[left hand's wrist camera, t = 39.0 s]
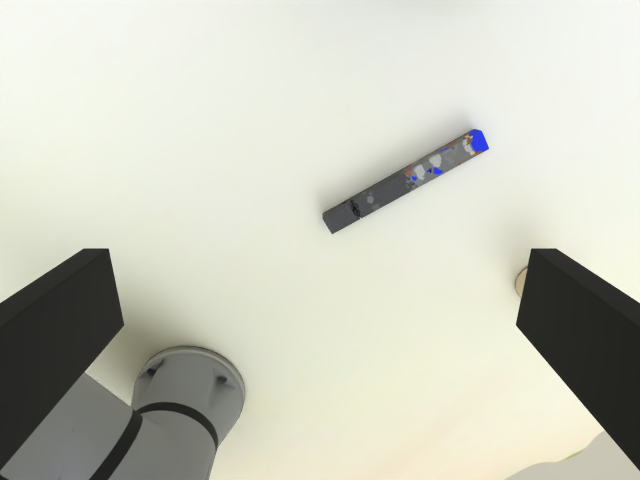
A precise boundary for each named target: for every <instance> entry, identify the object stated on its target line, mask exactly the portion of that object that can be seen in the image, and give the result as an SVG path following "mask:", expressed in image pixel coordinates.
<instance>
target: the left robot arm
mask: <svg viewBox="0 0 640 480" xmlns="http://www.w3.org/2000/svg"><path fill="white" fill-rule="evenodd" d="M123 326H124V322H123V317H122V312H121V307H120V302H119V297H118V292H117V288H116V283H115V278H114V273H113V268H112V263H111V258H110V253H109V249H83V250H81V251H79V252H78V253H76V254H75V255H73V256H72V257H70V258H69V259H67V260H66V261H64V262H63V263H61V264H60V265H58V266H57V267H55V268H53V269H52V270H50V271H49V272H47V273H46V274H44V275H43V276H41V277H40V278H38V279H37V280H35V281H34V282H32V283H30V284H29V285H27V286H26V287H24V288H23V289H21V290H20V291H18V292H17V293H15V294H14V295H12V296H11V297H9V298H7V299H6V300H4V301H3V302H1V303H0V480H209V476H210V473H211V469H212V466H213V462H214V459H215V455H216V451H217V448H218V446H219V445H220V443H221V442H222V441H223V439H224V438H225V437H226V435H227V434H228V433H229V431H230V430H231V428H232V427H233V426H234V424H235V423H236V421H237V420H238V418H239V416H240V414H241V411H242V408H243V404H244V399H245V387H244V383H243V380H242V378H241V376H240V374H239V373H238V371H237V370H236V369H235V367H234V366H233V365H232V364H231V363H230V362H229V361H227V360H226V359H225V358H223V357H222V356H220V355H218V354H216V353H214V352H212V351H209V350H206V349H203V348H199V347H190V346H181V347H174V348H170V349H167V350H164V351H162V352H160V353H158V354H156V355H155V356H153V357H152V358H151V359H150V360H149V361H148V362H147V363H146V364H145V366H144V367H143V369H142V370H141V372H140V374H139V375H138V377H137V380H136V383H135V386H134V391H133V397H132V403H131V407H130V406H129V405H127V404H126V403H125V402H123V401H122V400H121V399H119V398H118V397H117V396H115V395H114V394H113V393H111V392H110V391H109V390H107V389H106V388H105V387H103V386H102V385H101V384H99V383H98V382H97V381H95V380H94V379H93V378H91V377H90V376H89V375H87V374H86V373H85V371H86V369H87V368H88V367H89V366H90V365H91V364H92V362H93V361H94V360H95V359H96V358H97V356H98V355H99V354H100V353H101V352H102V351H103V349H104V348H105V347H106V346H107V345H108V343H109V342H110V341H111V340H112V339H113V338H114V336H115V335H116V334H117V333H118V332H119V331H120V329H121V328H122V327H123ZM516 326H517V327H518V328H519V329H520V331H521V332H522V333H523V334H524V335H525V336H526V338H527V339H528V340H529V341H530V342H531V343H532V345H533V346H534V347H535V348H536V349H537V351H538V352H539V353H540V354H541V355H542V356H543V358H544V359H545V360H546V361H547V362H548V364H549V365H550V366H551V367H552V368H553V369H554V371H555V372H556V373H557V374H558V375H559V376H560V378H561V379H562V380H563V381H564V382H565V384H566V385H567V386H568V387H569V388H570V389H571V391H572V392H573V393H574V394H575V395H576V396H577V398H578V399H579V400H580V401H581V402H582V404H583V405H584V406H585V407H586V408H587V409H588V411H589V412H590V413H591V414H592V415H593V416H594V418H595V419H596V420H597V421H598V422H599V424H600V425H601V426H602V427H603V428H604V429H605V431H606V432H607V433H608V434H609V435H610V436H611V438H612V439H613V440H614V441H615V442H616V444H617V445H618V446H619V447H620V448H621V449H622V451H623V452H624V453H625V454H626V455H627V457H628V458H629V459H630V460H631V461H632V462H633V464H634V465H635V466H636V467H637V468H638V469H639V471H640V303H639V302H637V301H636V300H634V299H633V298H631V297H629V296H628V295H626V294H625V293H623V292H622V291H620V290H619V289H617V288H616V287H614V286H613V285H611V284H610V283H608V282H606V281H605V280H603V279H602V278H600V277H599V276H597V275H596V274H594V273H593V272H591V271H590V270H588V269H587V268H585V267H583V266H582V265H580V264H579V263H577V262H576V261H574V260H573V259H571V258H570V257H568V256H567V255H565V254H564V253H562V252H561V251H559V250H557V249H531V253H530V258H529V263H528V268H527V273H526V278H525V283H524V288H523V292H522V297H521V302H520V307H519V312H518V317H517V322H516Z"/></svg>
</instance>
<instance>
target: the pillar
mask: <svg viewBox="0 0 640 480" xmlns="http://www.w3.org/2000/svg"><path fill="white" fill-rule="evenodd" d="M488 149H489V147H488V145H487V142H486V140H485V138H484V135H483V133H482V131H480V130H476V129H474V130H472V131H470V132H468V133H466V134H465V135H463V136H461V137H459V138H457V139H456V140H454V141H452V142H450V143H448V144H447V145H445V146H443V147H441V148H439V149H438V150H436V151H434V152H432V153H431V154H429V155H427V156H425V157H423V158H422V159H420V160H418V161H416V162H414V163H413V164H411V165H409V166H407V167H405V168H404V169H402V170H400V171H398V172H396V173H395V174H393V175H391V176H389V177H387V178H386V179H384V180H382V181H380V182H379V183H377V184H375V185H373V186H371V187H370V188H368V189H366V190H364V191H362V192H361V193H359V194H357V195H355V196H353V197H352V198H350V199H348V200H346V201H344V202H343V203H341V204H339V205H337V206H335V207H334V208H332V209H330V210H328V211H327V212H325V213H323V220H324V222H325V223H326V225H327V227H328V228H329V230H330V232H331V233H332V234H333V233H335V232H337V231H339V230H341V229H343V228H344V227H346V226H348V225H350V224H352V223H354V222H355V221H357V220H359V219H360V218H359V217H361V218H363V217H365V216H366V215H368V214H370V213H372V212H374V211H376V210H377V209H379V208H381V207H383V206H385V205H387V204H388V203H390V202H392V201H394V200H396V199H398V198H400V197H401V196H403V195H405V194H407V193H409V192H411V191H412V190H414V189H416V188H418V187H420V186H422V185H423V184H425V183H427V182H429V181H431V180H433V179H434V178H436V177H438V176H440V175H442V174H444V173H445V172H447V171H449V170H451V169H453V168H455V167H456V166H458V165H460V164H462V163H464V162H466V161H467V160H469V159H471V158H473V157H475V156H477V155H479V154H480V153H482V152H484V151H486V150H488ZM357 209H358V210H357Z"/></svg>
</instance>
